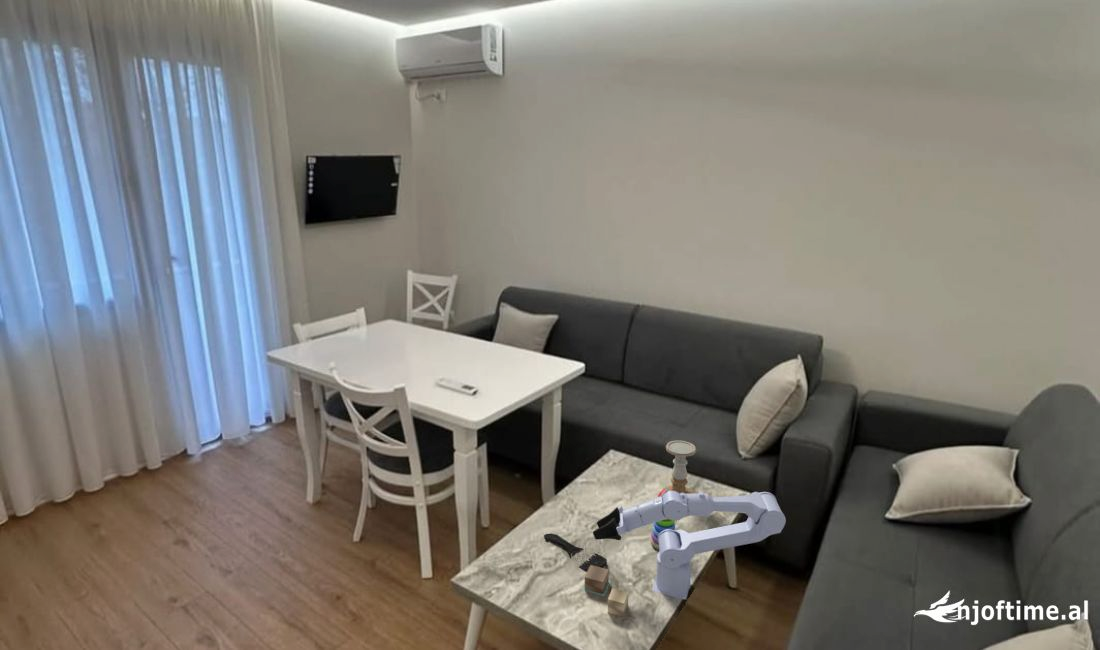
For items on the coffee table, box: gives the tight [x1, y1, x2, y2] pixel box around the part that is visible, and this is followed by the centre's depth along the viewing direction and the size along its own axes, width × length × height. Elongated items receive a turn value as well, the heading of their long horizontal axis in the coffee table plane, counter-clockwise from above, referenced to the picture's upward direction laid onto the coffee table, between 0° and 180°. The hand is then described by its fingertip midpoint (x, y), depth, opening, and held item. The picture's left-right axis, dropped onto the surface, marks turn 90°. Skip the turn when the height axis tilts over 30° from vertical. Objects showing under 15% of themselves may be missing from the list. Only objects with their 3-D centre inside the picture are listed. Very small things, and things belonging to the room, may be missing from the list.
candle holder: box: [662, 439, 697, 494], centre depth 200 cm, size 12×12×20 cm
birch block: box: [607, 587, 629, 618], centre depth 150 cm, size 4×4×4 cm
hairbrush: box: [543, 533, 608, 572], centre depth 174 cm, size 8×4×25 cm
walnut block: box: [584, 565, 610, 594], centre depth 159 cm, size 5×5×4 cm
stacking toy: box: [650, 489, 676, 551], centre depth 175 cm, size 8×8×19 cm
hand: (596, 530), depth 157 cm, fingers open, 7 cm apart
